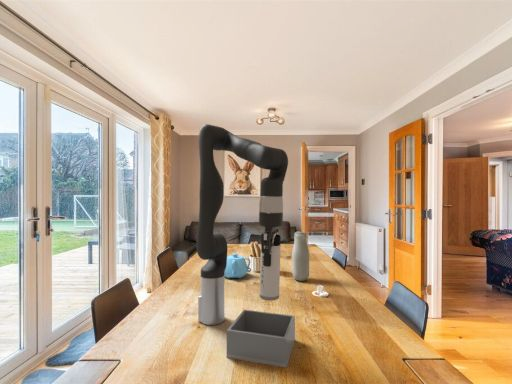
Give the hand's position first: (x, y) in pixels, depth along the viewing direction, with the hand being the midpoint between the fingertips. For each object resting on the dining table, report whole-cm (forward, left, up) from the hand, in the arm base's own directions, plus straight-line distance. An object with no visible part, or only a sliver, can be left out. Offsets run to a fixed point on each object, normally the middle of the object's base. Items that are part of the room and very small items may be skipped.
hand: (269, 263), depth 89 cm
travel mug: (0, 0, -11) cm, 11 cm away
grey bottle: (0, +76, -27) cm, 80 cm away
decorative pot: (-39, +73, -27) cm, 87 cm away
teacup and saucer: (+10, +53, -28) cm, 61 cm away
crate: (-2, 0, -27) cm, 27 cm away
